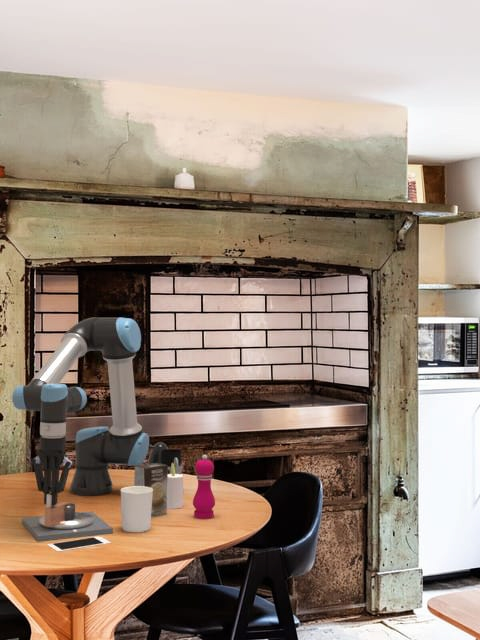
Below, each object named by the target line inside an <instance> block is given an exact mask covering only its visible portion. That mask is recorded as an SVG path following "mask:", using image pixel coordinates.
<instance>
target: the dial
mask: <svg viewBox="0 0 480 640" xmlns="http://www.w3.org/2000/svg"><path fill="white" fill-rule="evenodd" d="M41 516H42V517H41V518H40V520H39V524H40V525H41V526H42V527H45V528H50V529H77V528H82V527H86V526H89V525H91V524H93V522H94V517H93V516H92V515H90V514H87V513H81V512H80V511H79V512H78V511H76V504H75V503H72V502H69V501H62V502H59V503H57V504H56V505H54V506H51V507H48V508H44V515H41Z"/></svg>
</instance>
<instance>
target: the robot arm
mask: <svg viewBox="0 0 480 640" xmlns="http://www.w3.org/2000/svg"><path fill="white" fill-rule="evenodd" d="M141 333H142V332H141V329H140V327H139V325H138V323H137V322H136V320H134V319H133V318H130V317H129V318H128V317H127V318H126V317H120V316H119V317H97V316H96V317H95V316H94V317H89V318H85V319H83V320H81V321H79V322H78V323H76V324H74V325H73V326H72V327H70V328H69V329H68V330H67V331H66V332H65V333H64V334H63V335H62V337H61V339H60V344H59V345H58V347H56V349H55V350H54V352H53V353H52V354H51V356H49V358H48V359H47V361H46V362H45V363H44V364H43V365H42V367H41V368H40V369H39V370H38V371H37V373H36V374H35V376H34V377H33V378H32V379H31V381H30V382H29V383H28V384H27V385H25V384H24V385H18V386H16V387H15V388H14V390H13V392H12V397H11V398H12V405H13V406H14V408H15V409H17V410H22V411H34V412H35V411H37V412H40V420H39V421H40V422H39V423H40V425H39V434H40V437H39V452H38V454H37V456H35V457H34V458H31V459H30V463H31V464H32V466H33V470H34V476H35V480H36V485H37V491H38V492H42V493H43V503H44V505H46V508H48V507H51V506H54V505H56V504H58V498H59V497H58V494H60V493H62V492H64V491H65V488H66V483H67V480H68V477H69V472H70V470H71V468H72V466H73V465H74V461H73V460H70V459H69V458H68V457H67V454H66V445H67V444H66V443H67V440H66V435H67V414H69V413H77V412H78V411H80V410H82V409H84V407H85V406H86V404H87V402H88V398H87V393H86V391H85V390H84V389H83V388H81V387H78V386H70V387H68V386H67V385H66V384H65V383H61V381H62V380H63V378H65V376H66V374H68V372H69V371H70V370H71V368H72V367H73V366H74V364H75V363H76V362H77V360H79V358H82V357H83V356H85V355H86V353H88V352H90V351H96V352H98V351H99V352H101V353H102V358H103V360H104V361H106V362H107V372H108V383H109V395H110V406H111V416H112V426H111V427H110V428H109V426H93V427H88V428H82V429H79V430H78V431H77V432H76V436H75V471H74V474H73V477H72V481H71V483H70V486H69V487H70V489H69V490H70V491H69V492H70V493H71V494H73V495H78V496H102V495H108V494H110V493H112V492H113V483H112V482H113V481H112V479H111V475H110V472H109V465H121V466H129V467H130V466H135V465H143V463H144V462H145V461H146V458H147V456H148V453H149V444H150V436H149V434H148V433H146V432H143V426H142V425H141V423H139V422H138V418H137V403H136V393H135V381H134V368H133V359H134V358H135V357H136V356H137V352H138V351H139V350H140V348H141V347H142V346H141V344H142V343H141V342H142V334H141ZM42 465H43V467H42ZM61 465H63V466H62V470H61ZM60 471H61V473H60ZM46 508H45V509H46Z"/></svg>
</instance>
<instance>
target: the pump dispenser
mask: <svg viewBox="0 0 480 640" xmlns="http://www.w3.org/2000/svg"><path fill="white" fill-rule="evenodd" d="M149 448H150V449H151V451H150V454H149V457H148V460H147V464H151V463H161V450H165V449H169V448H168V446H167V444H165V443H164V442H161V441H160V442H157V443H155V444H154V445H152V444H150V443H149ZM149 448H148V449H149Z"/></svg>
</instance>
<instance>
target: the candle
mask: <svg viewBox="0 0 480 640" xmlns="http://www.w3.org/2000/svg"><path fill="white" fill-rule="evenodd" d="M183 507H184V475H183V474H175V468H174V464H173V463H172V465H171V474H168V478H167V510H168V509H169V510H170V509H171V510H178V508H179V509H182V508H183Z"/></svg>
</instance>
